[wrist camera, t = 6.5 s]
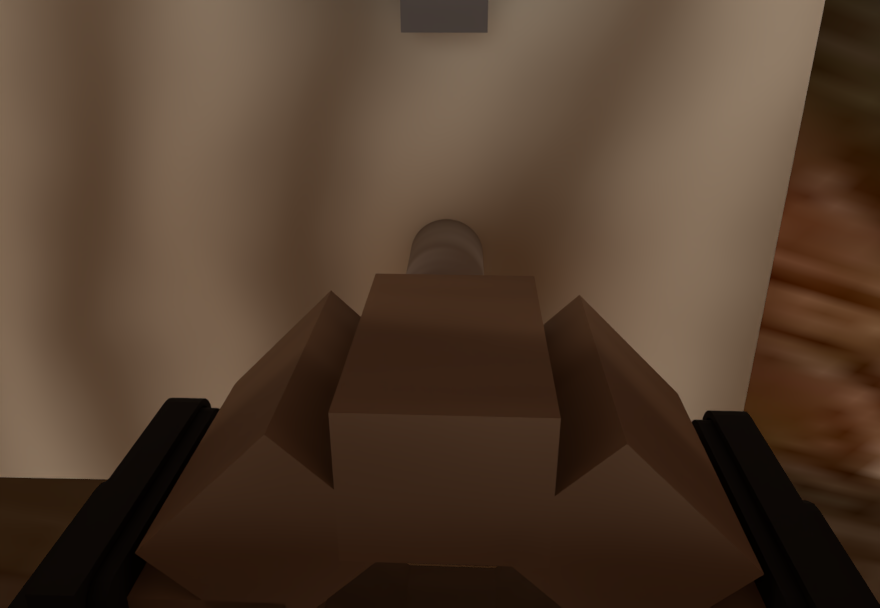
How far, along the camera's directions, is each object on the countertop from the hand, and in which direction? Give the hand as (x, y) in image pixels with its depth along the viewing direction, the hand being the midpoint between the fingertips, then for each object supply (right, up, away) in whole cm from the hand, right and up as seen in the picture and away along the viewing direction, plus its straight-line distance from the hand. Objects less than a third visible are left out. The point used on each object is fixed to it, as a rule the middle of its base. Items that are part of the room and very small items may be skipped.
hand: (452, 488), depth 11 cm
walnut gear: (0, 0, 0) cm, 0 cm away
